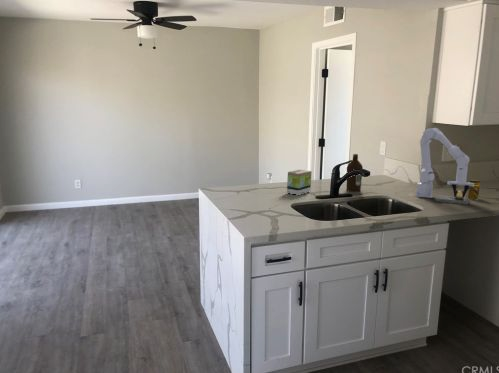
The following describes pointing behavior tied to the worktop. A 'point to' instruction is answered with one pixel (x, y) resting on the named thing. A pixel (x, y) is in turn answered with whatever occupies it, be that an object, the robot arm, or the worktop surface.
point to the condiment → (474, 190)
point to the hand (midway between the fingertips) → (459, 197)
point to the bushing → (459, 194)
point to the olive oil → (355, 181)
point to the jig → (451, 199)
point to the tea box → (299, 182)
